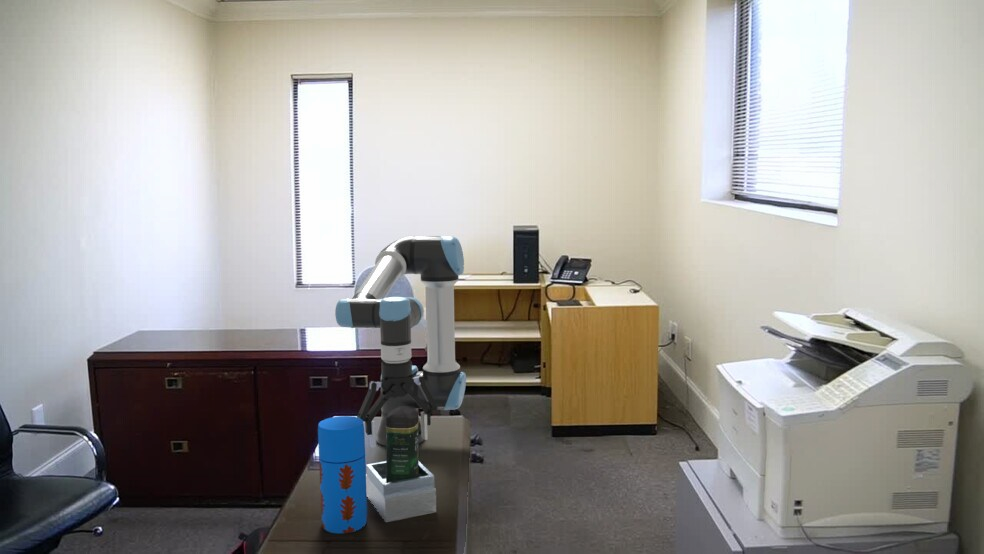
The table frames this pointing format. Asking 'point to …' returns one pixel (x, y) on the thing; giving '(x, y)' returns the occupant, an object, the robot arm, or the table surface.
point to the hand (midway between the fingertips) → (398, 442)
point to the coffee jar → (402, 444)
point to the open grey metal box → (400, 493)
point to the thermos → (342, 474)
